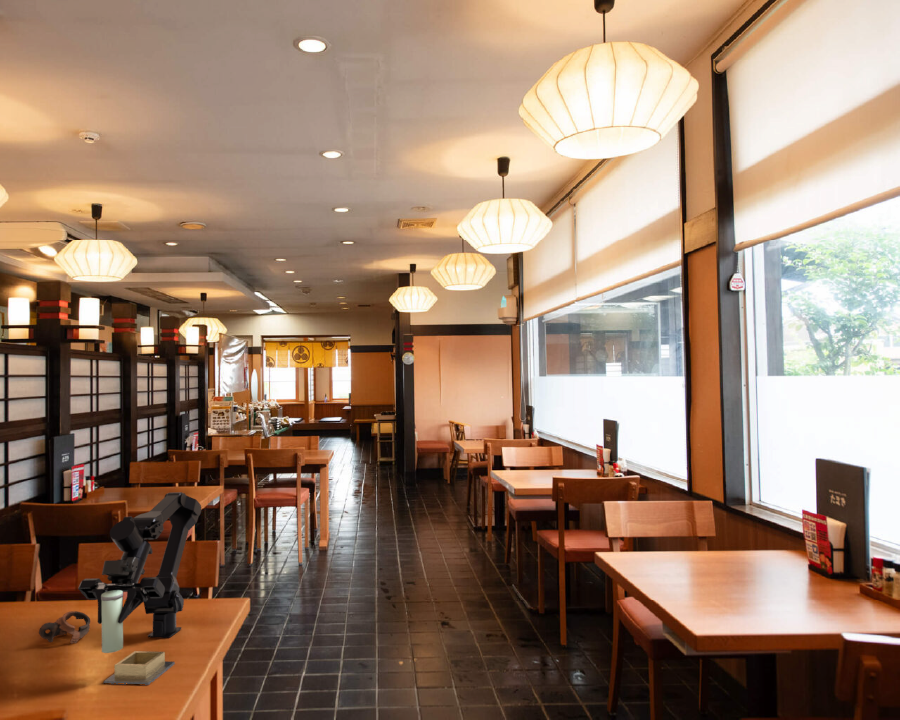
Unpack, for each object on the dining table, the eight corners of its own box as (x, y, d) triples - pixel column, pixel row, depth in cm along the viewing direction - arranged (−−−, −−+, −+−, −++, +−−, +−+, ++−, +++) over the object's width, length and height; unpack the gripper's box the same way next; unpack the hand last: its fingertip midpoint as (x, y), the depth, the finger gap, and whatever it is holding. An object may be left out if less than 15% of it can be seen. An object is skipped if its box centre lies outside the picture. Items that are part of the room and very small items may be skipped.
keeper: (132, 663, 157) (132, 648, 157) (174, 664, 156) (174, 649, 156) (103, 683, 146) (103, 667, 146) (148, 685, 145) (148, 669, 145)
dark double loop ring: (75, 632, 180) (88, 607, 180) (84, 655, 174) (98, 629, 174) (29, 634, 171) (42, 608, 170) (37, 659, 165) (51, 632, 164)
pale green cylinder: (104, 646, 151) (104, 591, 151) (125, 643, 152) (125, 589, 152) (98, 654, 146) (98, 597, 147) (120, 651, 147) (120, 595, 148)
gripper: (82, 545, 154) (53, 607, 142) (159, 543, 154) (136, 606, 142) (100, 568, 161) (75, 629, 150) (173, 567, 161) (153, 627, 150)
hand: (109, 622), depth 148 cm, fingers closed on pale green cylinder, 4 cm apart
